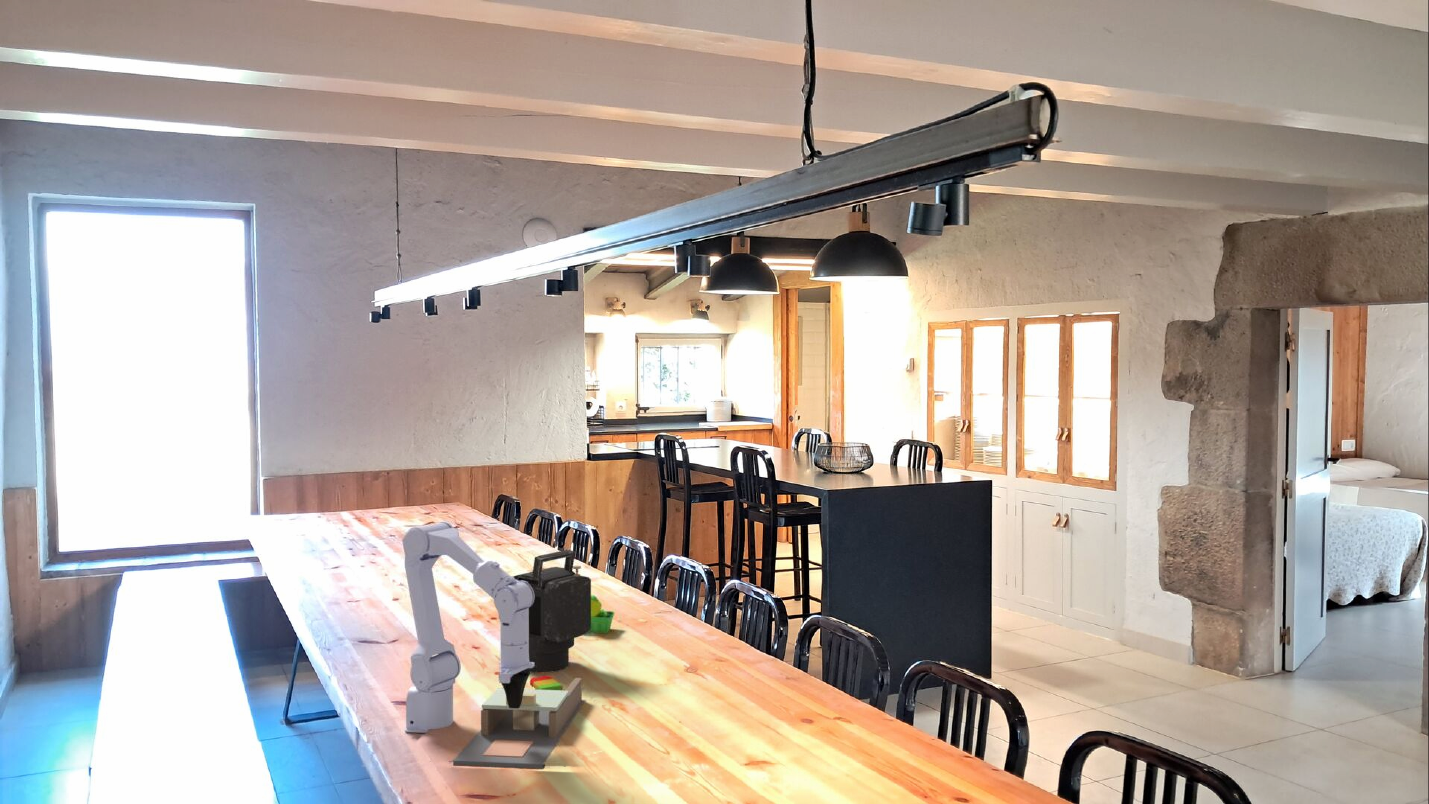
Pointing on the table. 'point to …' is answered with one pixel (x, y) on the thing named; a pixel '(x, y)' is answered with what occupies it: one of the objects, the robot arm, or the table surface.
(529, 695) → the lid
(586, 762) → the table surface
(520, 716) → the block
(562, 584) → the lantern
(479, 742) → the board
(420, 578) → the robot arm
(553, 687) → the popsicle
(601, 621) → the fruit basket
